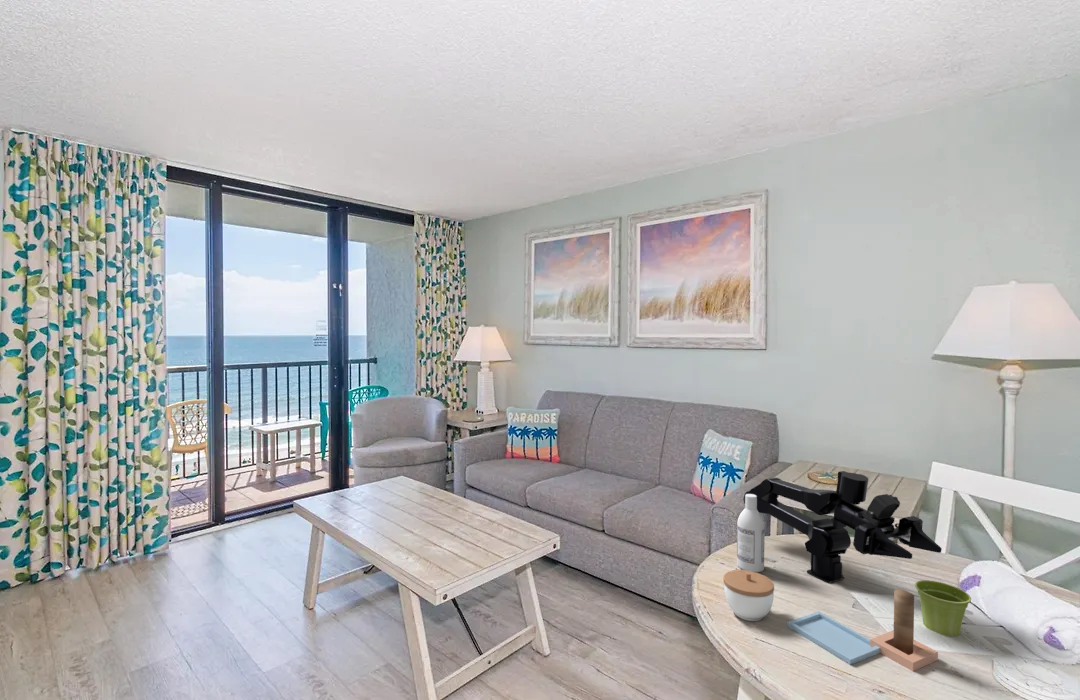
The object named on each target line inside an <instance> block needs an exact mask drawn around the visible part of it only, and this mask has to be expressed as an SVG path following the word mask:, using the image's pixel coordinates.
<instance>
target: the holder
mask: <svg viewBox="0 0 1080 700" xmlns="http://www.w3.org/2000/svg"><path fill="white" fill-rule="evenodd" d="M869 639H870V646H871V647H874V646H878V647H879V648H880V653H879V654H881V655H883V656H885V657H886V658H888V659H890V660H892V661H894V662H895V663H897V664H899V665H900V666H902V667H904V668H906V669H908V670H909V671H912V672H915V671H917V670H919V669H922V668H924V667H926V666H928V665H930V664H932V663H935V662H937V661H938V660H939V651H937V650H936V649H933V648H932V647H930V646H927V645H926V644H923V643H922V642H919V641H917V640H916V639H914V641H913V654H910V655H907V654H906V653H904V652H902V651H900V650H898V649H896V648H894V647H893V639H894V629H893V630H891V631H887V632H885V633H882V634H879V635H878V636H875V637H872V638H869Z"/></svg>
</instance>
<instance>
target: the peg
mask: <svg viewBox="0 0 1080 700" xmlns="http://www.w3.org/2000/svg"><path fill="white" fill-rule="evenodd" d="M893 592H894V595H893V596H894V598H893V630H894V639H893V647H894V648H896V649H898V650H900V651H902V652H904V653H906V654H907V655H910V654H913V641H914V640H915V639H914V634H915V633H914V627H915V625H914V624H915V595H914V593H912V592H910V591H908V590H904V589H895V590H894V591H893Z"/></svg>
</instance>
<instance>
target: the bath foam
mask: <svg viewBox="0 0 1080 700" xmlns="http://www.w3.org/2000/svg"><path fill="white" fill-rule="evenodd" d="M744 495H745V494H744ZM744 506H745V507H744V509H743V510H742V511H741V512H740V514H739V516H738V517H737V524H736V565H737V567H738V568H739V569H740V570H747V571H752V572H756V573H761V572H763V571H764V570H765V541H766V540H765V536H766V534H765V527H766V526H765V522H764V519H763V517H762V515H761V513H759V512H758V510H757V496H756V495H754V494H746V495H745V504H744Z"/></svg>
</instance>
